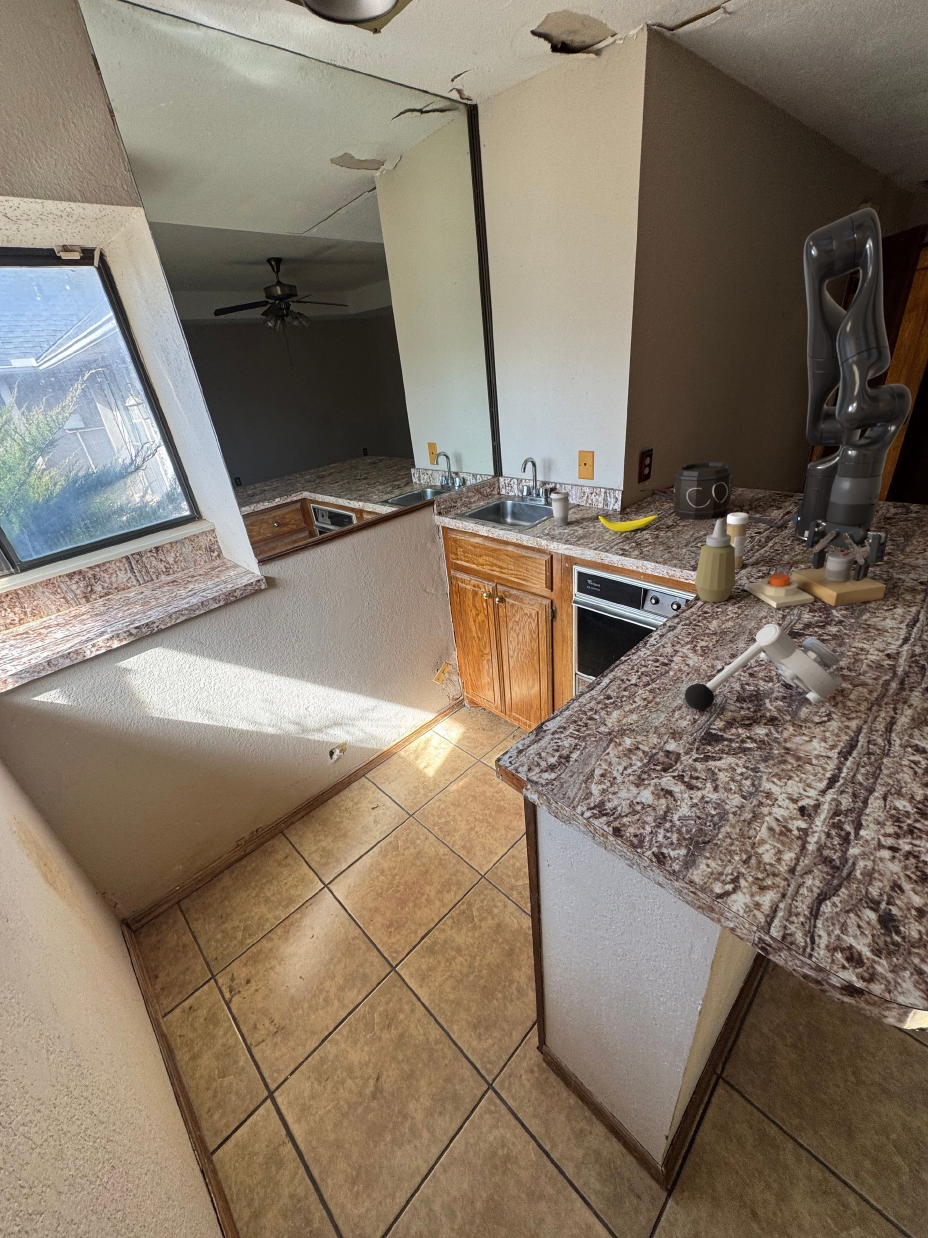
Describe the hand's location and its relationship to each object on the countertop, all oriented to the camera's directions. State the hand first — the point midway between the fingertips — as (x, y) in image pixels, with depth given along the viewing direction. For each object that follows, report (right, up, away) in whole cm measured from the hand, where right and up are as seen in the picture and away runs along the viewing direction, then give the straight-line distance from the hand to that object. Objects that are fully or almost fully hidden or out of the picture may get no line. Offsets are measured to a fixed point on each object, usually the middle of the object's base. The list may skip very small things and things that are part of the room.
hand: (837, 573), depth 101 cm
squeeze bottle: (-23, -5, +7) cm, 24 cm away
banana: (-25, +19, +58) cm, 66 cm away
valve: (-33, -23, -26) cm, 48 cm away
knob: (0, -1, 0) cm, 1 cm away
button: (-11, -2, +2) cm, 11 cm away
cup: (-43, +25, +76) cm, 91 cm away
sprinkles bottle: (-11, +4, +21) cm, 24 cm away
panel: (+1, -4, +2) cm, 4 cm away
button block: (-10, -4, +4) cm, 12 cm away
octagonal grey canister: (+3, +27, +64) cm, 70 cm away
